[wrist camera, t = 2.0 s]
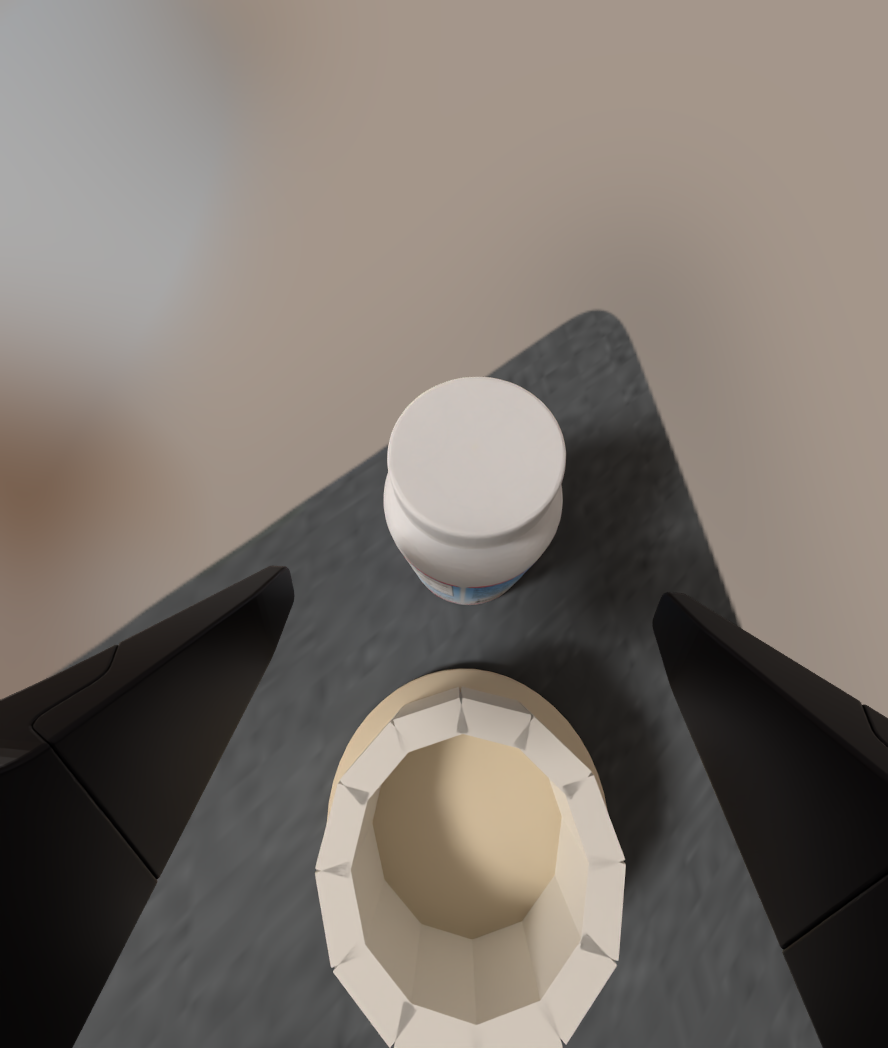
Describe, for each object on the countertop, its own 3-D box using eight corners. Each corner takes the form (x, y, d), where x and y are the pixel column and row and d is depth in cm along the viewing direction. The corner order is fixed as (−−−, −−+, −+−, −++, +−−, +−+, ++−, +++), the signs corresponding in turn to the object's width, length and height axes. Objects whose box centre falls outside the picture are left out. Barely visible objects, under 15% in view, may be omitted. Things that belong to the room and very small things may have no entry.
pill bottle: (522, 496, 21) (590, 351, 11) (525, 608, 20) (608, 572, 9) (414, 493, 22) (371, 349, 11) (407, 604, 20) (347, 563, 9)
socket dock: (478, 1070, 15) (486, 1239, 11) (277, 817, 17) (222, 873, 13) (658, 805, 17) (722, 859, 13) (456, 616, 20) (456, 610, 15)
